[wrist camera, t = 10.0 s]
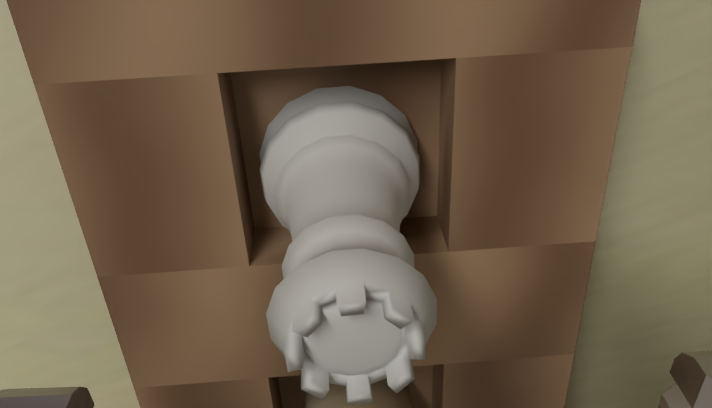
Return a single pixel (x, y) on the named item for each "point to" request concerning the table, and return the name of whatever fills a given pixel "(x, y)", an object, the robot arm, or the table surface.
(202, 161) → the pallet board
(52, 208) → the table surface
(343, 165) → the rook chess piece
